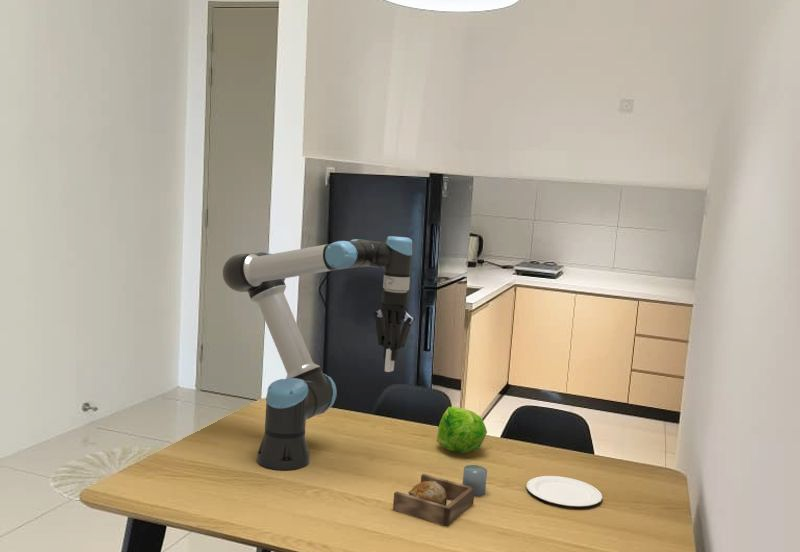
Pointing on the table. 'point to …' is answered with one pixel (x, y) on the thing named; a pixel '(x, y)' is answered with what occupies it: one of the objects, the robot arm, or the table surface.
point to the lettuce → (461, 430)
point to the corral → (432, 510)
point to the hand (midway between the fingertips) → (389, 370)
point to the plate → (564, 491)
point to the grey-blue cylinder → (475, 479)
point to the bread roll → (430, 492)
